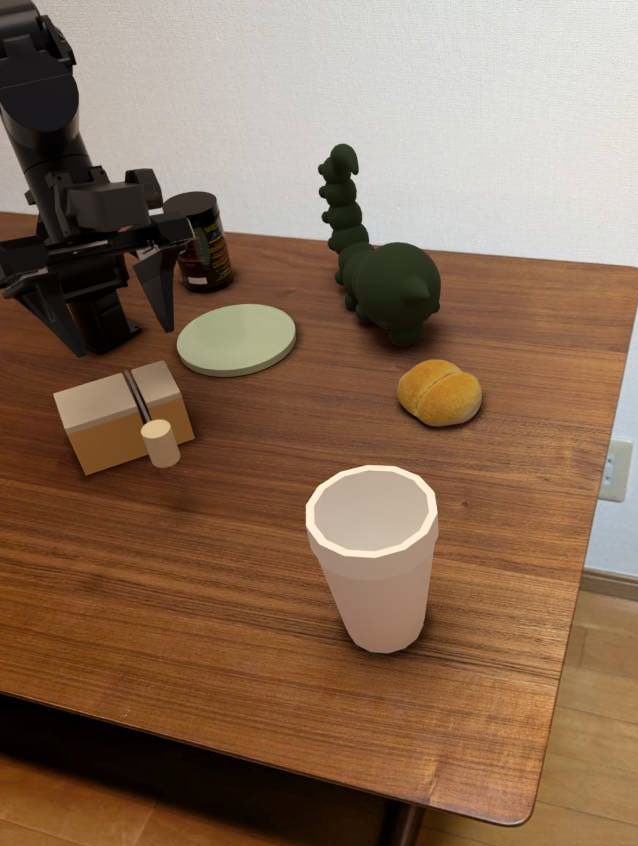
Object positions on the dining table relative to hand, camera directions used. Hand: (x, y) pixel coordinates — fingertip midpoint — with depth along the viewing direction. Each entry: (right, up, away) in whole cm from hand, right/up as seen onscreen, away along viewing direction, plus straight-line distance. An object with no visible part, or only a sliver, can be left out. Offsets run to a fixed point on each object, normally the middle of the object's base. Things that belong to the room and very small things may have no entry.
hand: (128, 344), depth 76 cm
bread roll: (+29, -3, +12) cm, 32 cm away
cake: (-5, -8, +11) cm, 14 cm away
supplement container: (-1, +16, +33) cm, 37 cm away
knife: (+1, -10, +8) cm, 13 cm away
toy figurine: (+23, +9, +25) cm, 35 cm away
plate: (+5, +6, +23) cm, 24 cm away
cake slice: (0, -6, +12) cm, 14 cm away
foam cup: (+24, -25, -7) cm, 35 cm away
